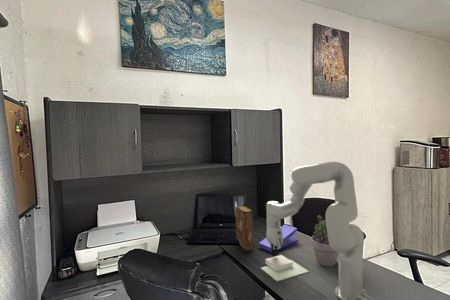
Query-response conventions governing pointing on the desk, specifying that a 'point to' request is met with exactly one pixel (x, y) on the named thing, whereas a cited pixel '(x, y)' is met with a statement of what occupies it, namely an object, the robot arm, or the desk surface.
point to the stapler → (287, 239)
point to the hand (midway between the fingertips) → (274, 255)
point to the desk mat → (285, 272)
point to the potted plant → (323, 245)
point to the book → (244, 227)
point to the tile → (279, 263)
